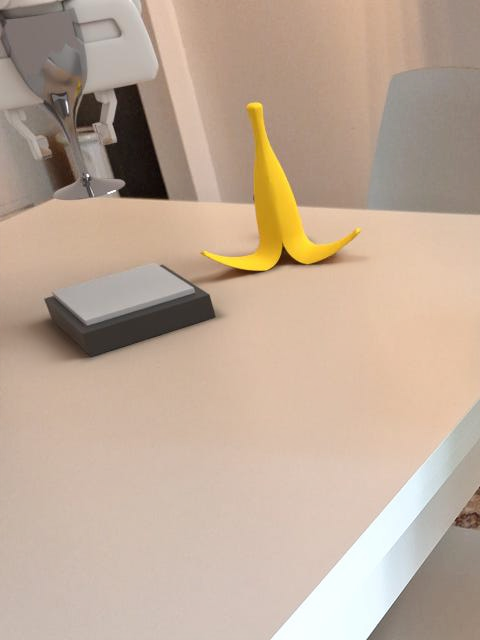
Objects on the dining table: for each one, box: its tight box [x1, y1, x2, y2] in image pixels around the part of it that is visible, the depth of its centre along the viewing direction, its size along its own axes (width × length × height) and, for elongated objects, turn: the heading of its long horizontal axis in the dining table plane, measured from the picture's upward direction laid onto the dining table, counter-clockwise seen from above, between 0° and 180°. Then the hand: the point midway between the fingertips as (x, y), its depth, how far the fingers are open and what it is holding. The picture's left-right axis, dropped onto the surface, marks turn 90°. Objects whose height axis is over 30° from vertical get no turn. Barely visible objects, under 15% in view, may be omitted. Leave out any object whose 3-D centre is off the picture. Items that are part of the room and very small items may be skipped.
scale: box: [43, 262, 216, 358], centre depth 101 cm, size 14×14×3 cm
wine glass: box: [0, 8, 126, 201], centre depth 89 cm, size 8×8×15 cm
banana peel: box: [200, 101, 362, 272], centre depth 108 cm, size 17×19×17 cm
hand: (76, 150), depth 91 cm, fingers closed on wine glass, 5 cm apart
